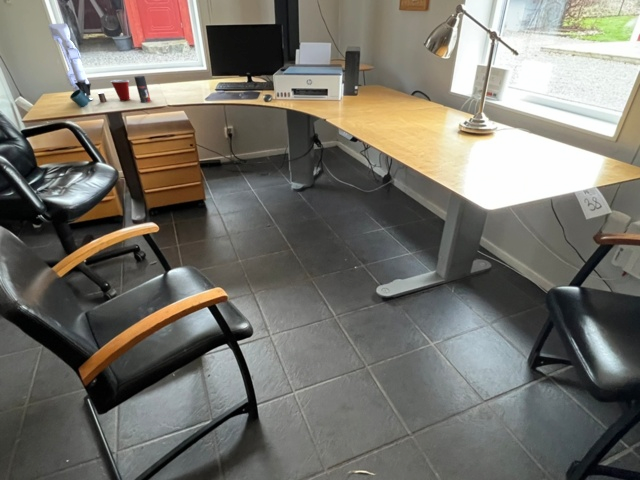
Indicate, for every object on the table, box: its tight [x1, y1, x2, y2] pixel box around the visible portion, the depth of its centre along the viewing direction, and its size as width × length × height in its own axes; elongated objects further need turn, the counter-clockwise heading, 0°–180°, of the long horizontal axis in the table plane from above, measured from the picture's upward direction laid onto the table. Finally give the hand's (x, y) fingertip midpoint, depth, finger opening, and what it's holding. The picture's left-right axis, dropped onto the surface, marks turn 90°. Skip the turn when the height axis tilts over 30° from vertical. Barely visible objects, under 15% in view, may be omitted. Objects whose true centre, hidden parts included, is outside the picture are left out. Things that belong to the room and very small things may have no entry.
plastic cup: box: [110, 79, 130, 102], centre depth 247 cm, size 11×11×12 cm
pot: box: [69, 89, 91, 108], centre depth 234 cm, size 10×8×7 cm
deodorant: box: [134, 75, 152, 104], centre depth 241 cm, size 6×6×15 cm
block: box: [97, 91, 107, 103], centre depth 246 cm, size 4×4×6 cm
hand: (86, 95), depth 235 cm, fingers closed on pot, 5 cm apart
